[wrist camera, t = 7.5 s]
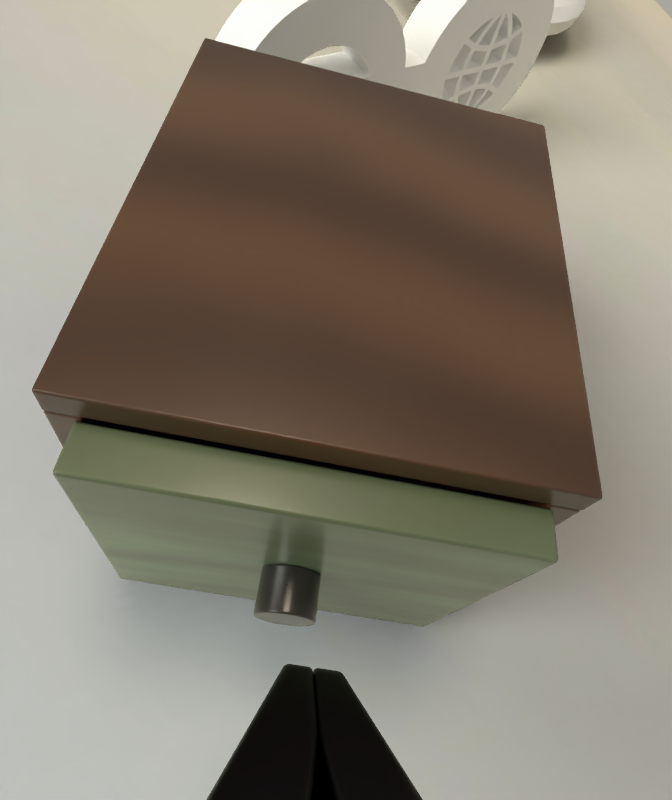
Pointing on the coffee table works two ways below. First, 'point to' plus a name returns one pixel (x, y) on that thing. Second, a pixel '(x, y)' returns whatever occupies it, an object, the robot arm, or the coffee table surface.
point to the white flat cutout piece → (405, 42)
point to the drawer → (295, 528)
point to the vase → (565, 14)
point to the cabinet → (338, 288)
